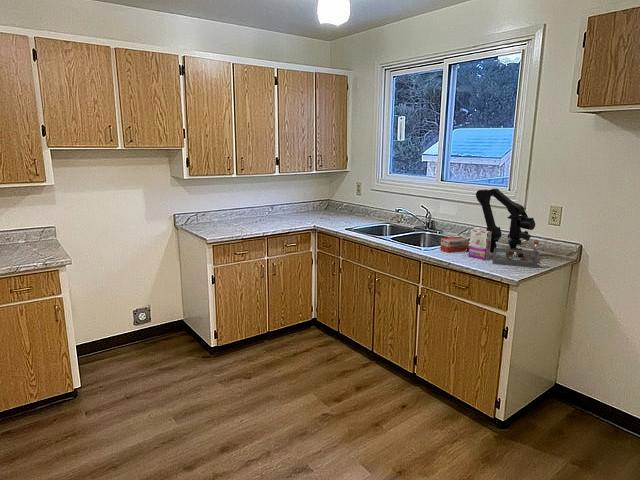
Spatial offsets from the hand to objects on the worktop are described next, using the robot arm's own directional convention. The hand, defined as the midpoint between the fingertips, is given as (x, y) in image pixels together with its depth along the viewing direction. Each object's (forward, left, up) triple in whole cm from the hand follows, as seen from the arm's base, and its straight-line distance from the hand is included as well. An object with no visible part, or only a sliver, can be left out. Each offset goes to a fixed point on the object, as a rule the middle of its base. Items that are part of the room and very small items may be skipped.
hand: (512, 253), depth 249 cm
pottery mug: (+2, -6, -3) cm, 7 cm away
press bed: (0, -17, -2) cm, 17 cm away
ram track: (+12, -2, -3) cm, 12 cm away
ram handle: (+12, +1, -3) cm, 12 cm away
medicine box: (-33, +4, -3) cm, 34 cm away
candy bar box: (-18, -8, -3) cm, 21 cm away
